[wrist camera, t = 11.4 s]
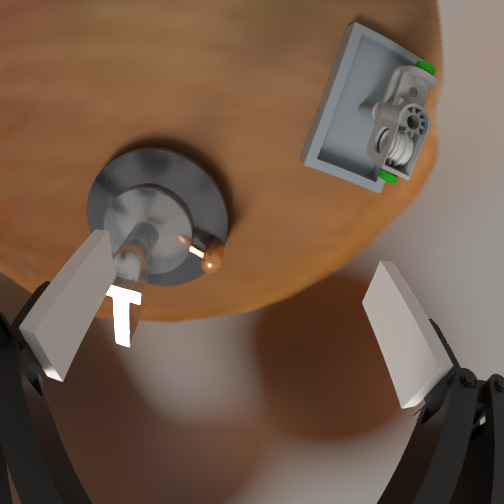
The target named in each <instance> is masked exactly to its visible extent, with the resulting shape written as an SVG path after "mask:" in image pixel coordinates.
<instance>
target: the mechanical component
mask: <svg viewBox="0 0 504 504" xmlns="http://www.w3.org/2000/svg"><path fill="white" fill-rule="evenodd" d="M434 73H435V68H434V67H433V66H432V65H430V64H428V63H426V62H423V61H417V63H416V66H399V67H397V68H396V69H395V70H394V72H393V73H392V75H391V78H390V81H389V84H388V87H387V90H386V93H385V96H384V99H383V101H379V102H377V103H376V104H370V103H362V104H360V106H359V108H358V110H359V113H360V114H361V115H362V116H366V117H367V118H370V119H373V120H374V122H375V125H374V128H373V131H372V134H371V136H370V139H369V142H368V145H367V156H368V158H370V159H371V160H373V163H374V164H376V165H377V166H379V167H380V170H379V173H378V175H377V176H378V177H380V178H381V179H383V180H385V181H387V182H389V183H391V184H395V183H396V181H397V179H398V177H397V176H396V175H398V176H400V177H402V178H404V179H407V180H409V179H410V176H411V174H412V171H413V169H414V167H415V164H416V162H417V159H418V156H419V154H420V151H421V149H422V146H423V143H424V141H425V138H426V137H427V135H428V134H429V131H430V127H431V120H430V116H429V114H428V112H427V110H425V109H424V108H423V107H424V104H425V101H426V98H427V95H428V91H429V88H436V85H437V81H438V80H437V79H436V78H435V77H434ZM413 144H414V149H413ZM412 152H413V153H412ZM411 155H412V156H411ZM410 157H411V158H410ZM407 161H408V162H407Z"/></svg>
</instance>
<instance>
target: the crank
mask: <svg viewBox="0 0 504 504" xmlns="http://www.w3.org/2000/svg"><path fill="white" fill-rule="evenodd" d="M104 230H107V231H109V236H110V243H111V250H112V252H113V253H114V255H113V263H114V269H115V275H116V278H115V280H114V282H113V284H112V285H111V287H110V289H109V290H108V292H107V294H106V295H109V296H113V303H114V322H115V335H116V343H118V344H121V345H124V346H127V347H130V344H131V342H132V339H133V336H134V334H135V331H136V328H137V326H138V323H139V321H140V318H141V316H142V313H143V310H144V308H145V305H146V294H147V282H148V274H161V273H166V272H169V271H171V270H173V269H175V268H177V267H178V266H179V265H180V264H181V263H182V262H183V261H184V260H185V259H186V257H187V255H188V253H189V251H190V248H191V245H192V242H193V239H194V233H195V225H194V220H193V216H192V214H191V211H190V209H189V208H188V206H187V204H186V203H185V202H184V201H183V199H182V198H181V197H180V196H178V195H177V194H176V193H175V192H173V191H172V190H170V189H168V188H166V187H164V186H161V185H157V184H152V183H144V184H138V185H134V186H132V187H129V188H128V189H126V190H125V191H124V192H122V193H121V194H120V195H119V196H118V197H117V198H116V199H115V200H114V201H113V202H112V203H111V204H110V206H109V207H108V209H107V211H106V214H105V218H104Z"/></svg>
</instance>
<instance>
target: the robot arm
mask: <svg viewBox="0 0 504 504" xmlns="http://www.w3.org/2000/svg"><path fill="white" fill-rule="evenodd" d="M115 278H116V275H115V269H114V263H113V257H112V250H111V243H110V236H109V231H107V230H97V229H95V230H94V231H93V233H92V234H91V235H90V236H89V237H88V238H87V239H86V240H85V242H84V243H83V244H82V245H81V246H80V247H79V248H78V250H77V251H76V252H75V253H74V254H73V255H72V257H71V258H70V259H69V260H68V262H67V263H66V264H65V265H64V266H63V268H62V269H61V270H60V271H59V273H58V274H57V275H56V276H55V278H54V279H53V280H52V282H49V281H46V282H45V283H43V284H42V285H41V286H39V287H38V288H37V289H36V290H35V292H34V293H33V294H32V296H31V298H30V299H29V300H28V301H27V303H26V305H24V307H23V308H22V309H21V311H20V312H19V314H18V315H17V317H16V318H15V320H14V321H13V322H12V324H11V325H9V323H8V321H7V320H6V318H5V316H4V314H2V313H1V312H0V504H13V501H12V496H11V492H10V485H9V479H8V472H7V465H8V468H9V471H10V474H11V477H12V480H13V483H14V485H15V488H16V491H17V493H18V496H19V498H20V501H21V503H22V504H92V502H91V500H90V499H89V497H88V495H87V493H86V492H85V490H84V488H83V486H82V484H81V482H80V480H79V478H78V476H77V474H76V472H75V470H74V468H73V466H72V463H71V461H70V459H69V457H68V455H67V452H66V450H65V447H64V445H63V443H62V440H61V438H60V435H59V432H58V430H57V427H56V424H55V421H54V419H53V416H52V413H51V410H50V406H49V403H48V400H47V397H46V393H45V390H44V386H43V382H42V379H41V377H40V375H39V372H40V370H41V368H43V370H44V371H45V373H46V374H47V376H49V377H51V378H54V379H57V380H59V381H63V380H64V377H65V375H66V373H67V371H68V369H69V366H70V364H71V362H72V360H73V358H74V356H75V354H76V351H77V349H78V347H79V345H80V343H81V341H82V339H83V337H84V335H85V333H86V331H87V329H88V327H89V325H90V323H91V322H92V320H93V318H94V316H95V314H96V312H97V310H98V308H99V307H100V305H101V303H102V301H103V299H104V298H105V296H106V294H107V292H108V290H109V289H110V287H111V285H112V284H113V282H114V280H115ZM362 303H363V306H364V308H365V311H366V313H367V315H368V318H369V320H370V322H371V325H372V328H373V330H374V333H375V335H376V338H377V340H378V343H379V345H380V348H381V351H382V353H383V356H384V359H385V361H386V364H387V367H388V369H389V372H390V375H391V378H392V380H393V384H394V386H395V389H396V392H397V395H398V398H399V401H400V404H401V407H402V408H407V407H413V406H416V405H417V404H418V403H419V402H420V401H421V400H422V399H423V398H424V400H425V402H426V404H425V405H424V406H423V407H422V408H421V409H420V410H419V411H418V412H416V413H415V414H414V416H413V418H415V417H417V416H418V415H419V414H420V415H419V417H418V419H417V423H416V426H415V428H414V431H413V433H412V435H411V437H410V440H409V442H408V444H407V447H406V449H405V451H404V453H403V455H402V458H401V460H400V462H399V464H398V466H397V468H396V470H395V472H394V474H393V476H392V478H391V479H390V481H389V483H388V485H387V487H386V489H385V491H384V492H383V494H382V496H381V497H380V499H379V501H378V502H377V504H504V378H503V377H502V376H500V375H499V374H493V375H492V376H491V377H490V378H489V379H488V380H487V381H482V380H477V378H476V376H475V375H474V373H473V372H471V371H470V370H469V369H466V368H461V367H460V365H459V363H458V361H457V359H456V358H455V356H454V354H453V352H452V350H451V348H450V346H449V344H447V341H446V339H445V337H443V333H442V332H441V330H440V328H439V327H438V325H437V324H435V322H434V321H433V320H432V319H428V317H427V316H426V314H425V312H424V311H423V309H422V307H421V306H420V304H419V302H418V301H417V299H416V297H415V296H414V294H413V293H412V291H411V289H410V288H409V286H408V285H407V283H406V281H405V280H404V278H403V277H402V275H401V274H400V272H399V271H398V269H397V268H396V266H395V265H394V263H393V262H389V261H380V263H379V265H378V268H377V270H376V273H375V275H374V277H373V279H372V282H371V284H370V286H369V289H368V291H367V293H366V295H365V298H364V300H363V302H362ZM484 416H485V421H486V422H484V423H483V424H482V425H480V419H482V418H483V417H484ZM6 462H7V465H6Z"/></svg>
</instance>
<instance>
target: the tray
mask: <svg viewBox="0 0 504 504" xmlns="http://www.w3.org/2000/svg"><path fill="white" fill-rule="evenodd" d="M417 61H423V62H425V61H424V60H422V59H421V58H419V57H418V56H416V55H415V54H413V53H411V52H410V51H408V50H407V49H405V48H403V47H402V46H400V45H398V44H397V43H395V42H393V41H391V40H390V39H388V38H386V37H384V36H382V35H381V34H379V33H377V32H375V31H373V30H371V29H369V28H367V27H365V26H363V25H361V24H359V23H357V22H354V23H352V24H351V25H349V26H347V29H346V32H345V34H344V37H343V40H342V43H341V46H340V49H339V52H338V54H337V57H336V60H335V63H334V66H333V69H332V71H331V74H330V77H329V80H328V83H327V86H326V88H325V91H324V94H323V97H322V99H321V102H320V105H319V108H318V111H317V113H316V116H315V119H314V122H313V124H312V127H311V130H310V133H309V135H308V138H307V141H306V144H305V146H304V149H303V152H302V154H301V157H300V160H301V162H302V163H303V164H304V165H305V166H308V167H311V168H314V169H317V170H320V171H323V172H325V173H328V174H331V175H334V176H336V177H339V178H342V179H344V180H347V181H349V182H352V183H355V184H357V185H360V186H362V187H365V188H367V189H370V190H372V191H374V192H377V193H379V194H380V193H381V191H382V189H383V186H384V184H385V182H386V181H385V180H383V179H381V178H380V177H378V176H377V175H378V173H379V170H380V167H379V166H377V165H376V164H374V163H373V160H371V159H370V158H368V156H367V145H368V142H369V139H370V136H371V134H372V131H373V128H374V125H375V122H374V120H373V119H370V118H367V117H366V116H362V115H361V114H360V113H359V110H358V108H359V106H360V104H362V103H370V104H376V103H377V102H379V101H383V99H384V96H385V93H386V90H387V87H388V84H389V81H390V78H391V75H392V73H393V72H394V70H395V69H396V68H397V67H399V66H416V63H417ZM426 63H427V62H426Z"/></svg>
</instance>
